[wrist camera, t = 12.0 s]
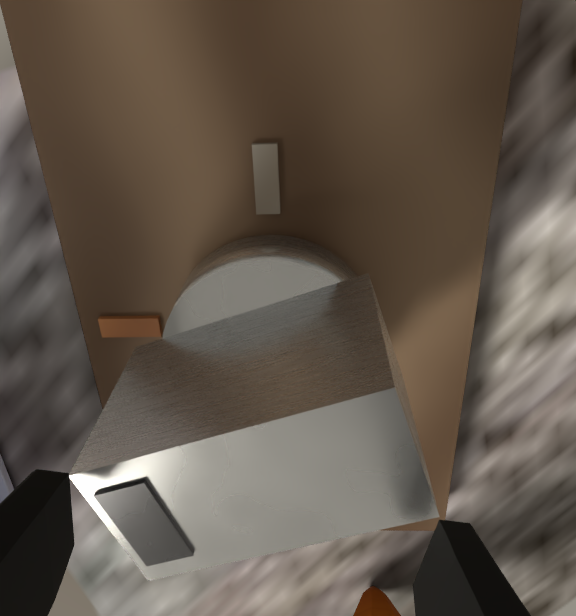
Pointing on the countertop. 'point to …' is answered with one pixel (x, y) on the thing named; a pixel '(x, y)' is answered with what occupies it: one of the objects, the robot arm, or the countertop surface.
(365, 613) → the carrot
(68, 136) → the lock board
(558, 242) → the countertop surface
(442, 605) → the robot arm
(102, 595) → the countertop surface
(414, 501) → the cap
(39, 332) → the countertop surface
